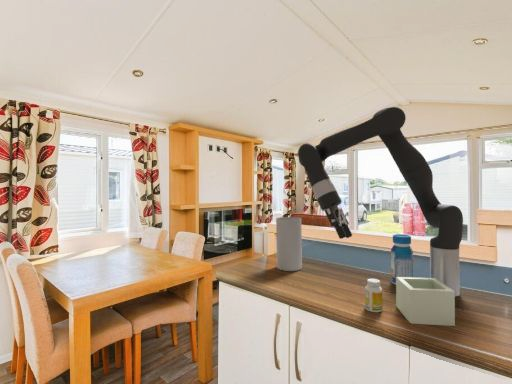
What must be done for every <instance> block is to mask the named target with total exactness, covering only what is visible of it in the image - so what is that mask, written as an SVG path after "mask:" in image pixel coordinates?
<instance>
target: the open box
mask: <svg viewBox="0 0 512 384" xmlns="http://www.w3.org/2000/svg"><path fill="white" fill-rule="evenodd" d="M395 292H396V293H395V295H396V296H395V297H396V299H395V300H396V301H395V302H396V303H395V304H396V305H395V306H396V308H397V309H398V310H399V311H400V313H401V314H402V315H403V317H405V319H406V320H407V321H408V323H409V324H410V323H411V324H413V325H414V324H415V325H433V326H450V327H451V326H453V327H455V326H456V323H455V322H456V319H455V318H456V307H455V306H456V303H455V302H456V301H455V300H456V297H455V291H453V290H452V289H450V288H449V287H447V286H446V285H444V284H443V283H441V282H440V281H438V280H437V279H435V278H430V277H414V276H413V277H396V285H395Z"/></svg>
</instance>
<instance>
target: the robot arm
mask: <svg viewBox="0 0 512 384" xmlns="http://www.w3.org/2000/svg"><path fill="white" fill-rule="evenodd" d="M406 118H407V117H406V114H405V112H404V110H403V109H401V108H400V107H397V106H388V107H385V108H383V109H380V110H378V111H377V112H375V113H374V114H373V116H372V118H369V119H368V120H366V121H364V122H361V123H359V124H357V125H353V126H351V127H348V128H346V129H342V130H340V131H338V132H336V133H333V134H331V135H328V136H326V137H324V138H322V140H320V142H319V143H318V144H317V145H316V146H315V145H313V144H312V143H308V142H306V143H303V144H302V145H300V147H299V148H298V151H297V156H298V161H299V164H300V165H301V166H302V167H304V170H305V173H306V177H307V179H308V182H309V184H310V186H311V188H312V192H313V194H314V197H315V199H316V202H317V203H318V205H319V207H320V210H321V211H324V213H325V215H326V217H327V219H328V223H329V224H330V226H331V227H333V229H334V230H335V231H336V234H337V235H338V238H339V239H340V240H342V239H345V238H347V239H349V238H351V237H353V234H352V231H351V229H350V227H349V224H350V222H349V221H348V219H347V217H346V215H345V213H344V211H343V209H340V208H339V207H338V206H339V205H341V204H342V198H341V197H340V195H339V193H338V191H337V188H336V187H335V184H334V183H333V182H332V180H331V178H330V176H329V173H328V172H327V170H326V168H325V167H324V165H323V161H325V160H326V159H328V158H329V157H331V156H333V155H337V154H339V153H341V152H343V151H346V150H347V149H349V148H352V147H354V146H357V145H359V144H360V143H363V142H365V141H367V140H370V139H372V138H376V137H379V138H380V140H381V141H382V143H383V144H384V145H385V147H386V148H387V150H388V152H389V154H390V155H391V157H392V159H393V161H394V163H395V165H396V167H397V168H398V170H399V172H400V174H401V176H402V177H403V179H404V181H405V182H406V184H407V185H408V187H409V188H410V190H411V192H412V194H413V196H414V198H415V199H416V201H417V204H418V205H419V208H420V210H421V213H422V215H423V218H424V219H425V221H426V223H428V225H429V226H430V227H432V228H435V229H438V235H437V236H435V237H432V238H430V240H429V270H430V271H429V278H435V279H437V280H438V281H440V282H441V283H443V284H444V285H446V286H447V287H449V288H450V289H452V290H453V291H455V298H456V297H459V296H460V284H461V283H460V246H461V245H460V244H461V242H462V239H463V228H464V227H463V226H464V217H463V212H462V211H461V209H460V208H459V207H458V206H456V205H453V204H442V203H441V202H440V201H439V199H438V197H437V196H436V194H435V192H434V189H433V179H434V178H433V176H434V175H433V171H432V169H431V167H430V165H429V163H428V162H427V160H426V158H425V157H424V155H423V154H422V153H421V152H420V151H419V150H418V149H417V148H416V147H415V146H414V145H413V144H411V143H410V142H409V141H408V139H406V137H405V135H404V134H403V132H402V130H401V129H402V128H403V126H404V125H405V123H406Z"/></svg>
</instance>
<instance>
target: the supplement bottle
mask: <svg viewBox="0 0 512 384" xmlns="http://www.w3.org/2000/svg"><path fill="white" fill-rule="evenodd" d="M366 284H367V285H365V287H364V308H365V310H366V311H368V312H371V313H381V312H382V311H383V302H384V299H383V294H384V293H383V288H382V287H381V280H379V279H377V278H368V279H367V280H366Z"/></svg>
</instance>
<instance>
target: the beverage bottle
mask: <svg viewBox="0 0 512 384" xmlns="http://www.w3.org/2000/svg"><path fill="white" fill-rule="evenodd" d="M392 243H393V244H394V245H393V246H392V247H391V249H390V253H391V255H390V262H391V264H390V265H391V267H390V268H391V269H390V270H391V271H390V272H391V274H390V275H391V277H390V282H391V283H392V284H394V285H395V286H396V277H414V256H413V254H414V250H413V249H412V246H411V244H412V235H409V234H402V233H401V234H399V233H397V234H395V233H394V234H393V235H392Z"/></svg>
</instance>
